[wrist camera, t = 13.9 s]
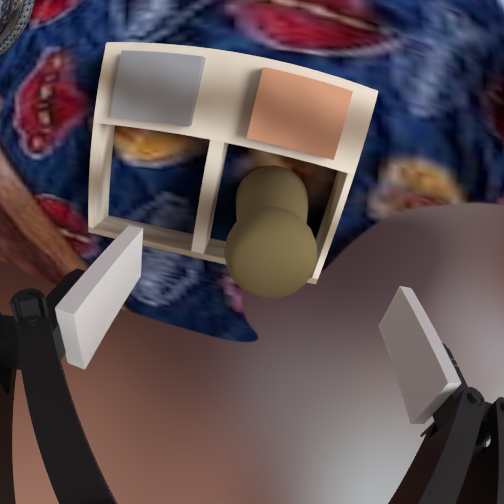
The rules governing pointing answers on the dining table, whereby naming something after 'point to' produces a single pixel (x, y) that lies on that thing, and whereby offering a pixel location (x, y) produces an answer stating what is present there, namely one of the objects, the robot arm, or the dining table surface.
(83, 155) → the dining table surface
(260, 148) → the socket board
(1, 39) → the decorative vase
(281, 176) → the cork
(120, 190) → the dining table surface
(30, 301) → the robot arm
